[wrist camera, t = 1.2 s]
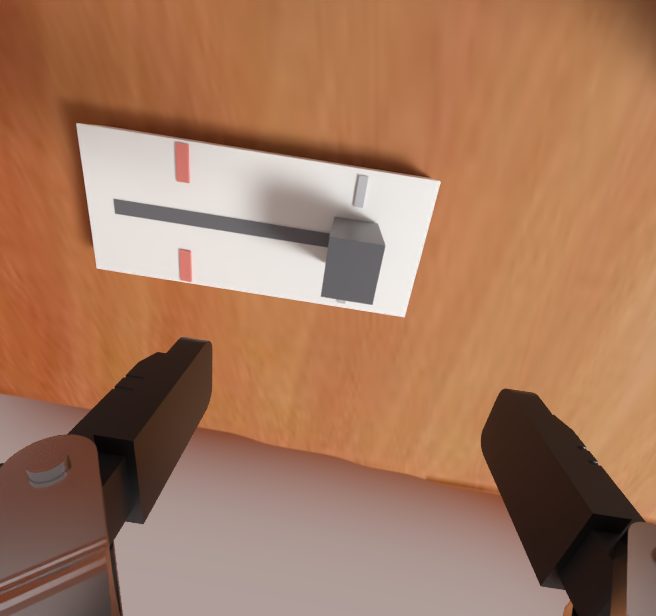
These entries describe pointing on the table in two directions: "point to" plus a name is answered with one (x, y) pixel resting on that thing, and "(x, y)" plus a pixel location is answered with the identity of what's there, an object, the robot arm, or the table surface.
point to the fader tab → (353, 261)
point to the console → (244, 215)
